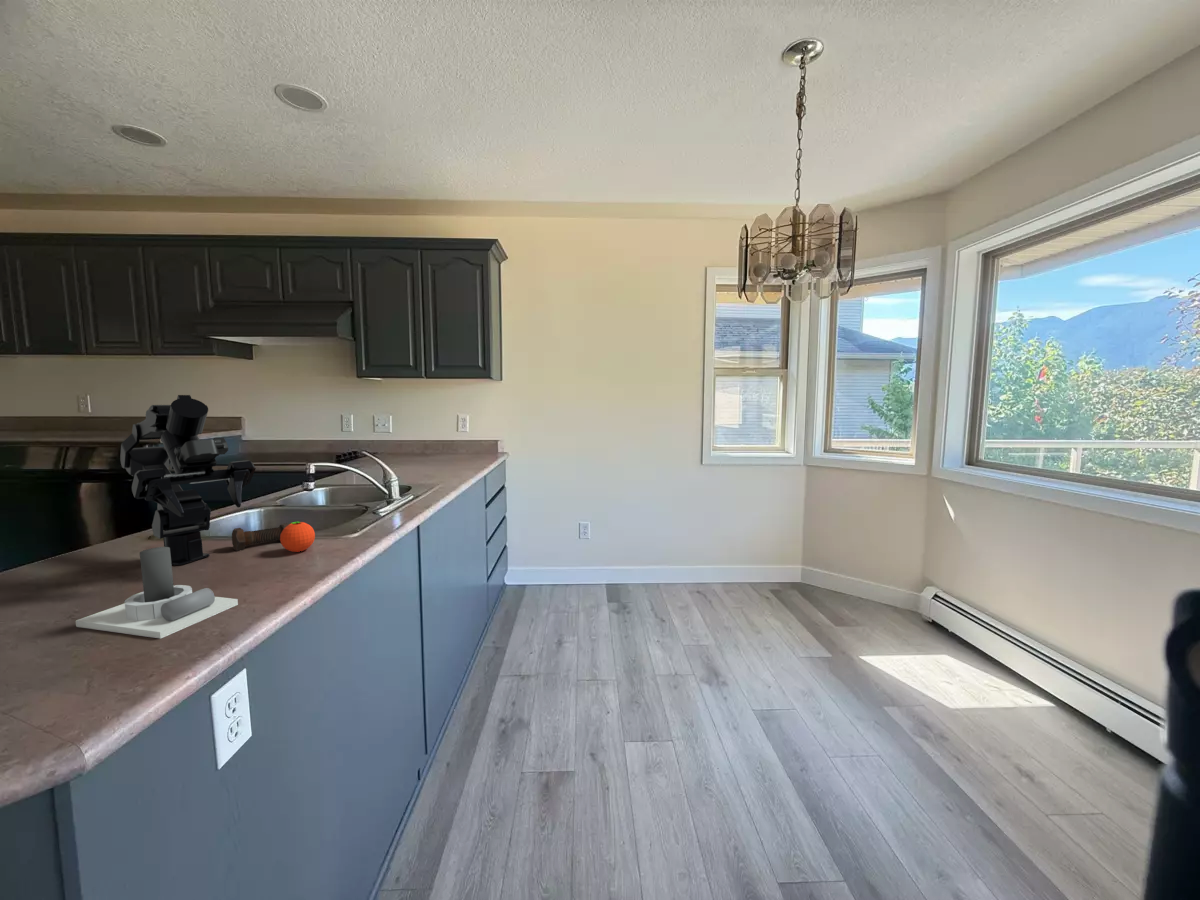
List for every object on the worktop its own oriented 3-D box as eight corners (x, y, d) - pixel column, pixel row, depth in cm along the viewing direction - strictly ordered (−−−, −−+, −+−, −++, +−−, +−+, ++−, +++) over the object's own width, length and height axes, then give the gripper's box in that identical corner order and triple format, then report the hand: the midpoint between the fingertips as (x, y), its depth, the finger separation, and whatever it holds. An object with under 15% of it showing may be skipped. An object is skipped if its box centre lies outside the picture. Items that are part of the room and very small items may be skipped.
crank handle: (142, 610, 77) (136, 551, 76) (170, 602, 80) (164, 545, 79) (150, 616, 75) (144, 555, 74) (179, 607, 79) (173, 549, 78)
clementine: (274, 551, 111) (271, 521, 110) (306, 544, 116) (304, 515, 116) (288, 558, 106) (286, 527, 105) (321, 550, 112) (319, 520, 111)
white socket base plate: (76, 626, 74) (73, 602, 74) (161, 595, 86) (159, 574, 85) (160, 638, 70) (158, 612, 70) (237, 604, 82) (236, 582, 82)
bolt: (307, 544, 123) (235, 556, 112) (301, 531, 125) (230, 542, 114) (310, 527, 121) (237, 538, 109) (304, 514, 123) (232, 524, 112)
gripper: (130, 427, 86) (156, 493, 82) (248, 423, 102) (276, 478, 97) (121, 466, 92) (146, 530, 87) (235, 457, 107) (261, 510, 102)
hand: (212, 510), depth 93 cm, fingers open, 9 cm apart
